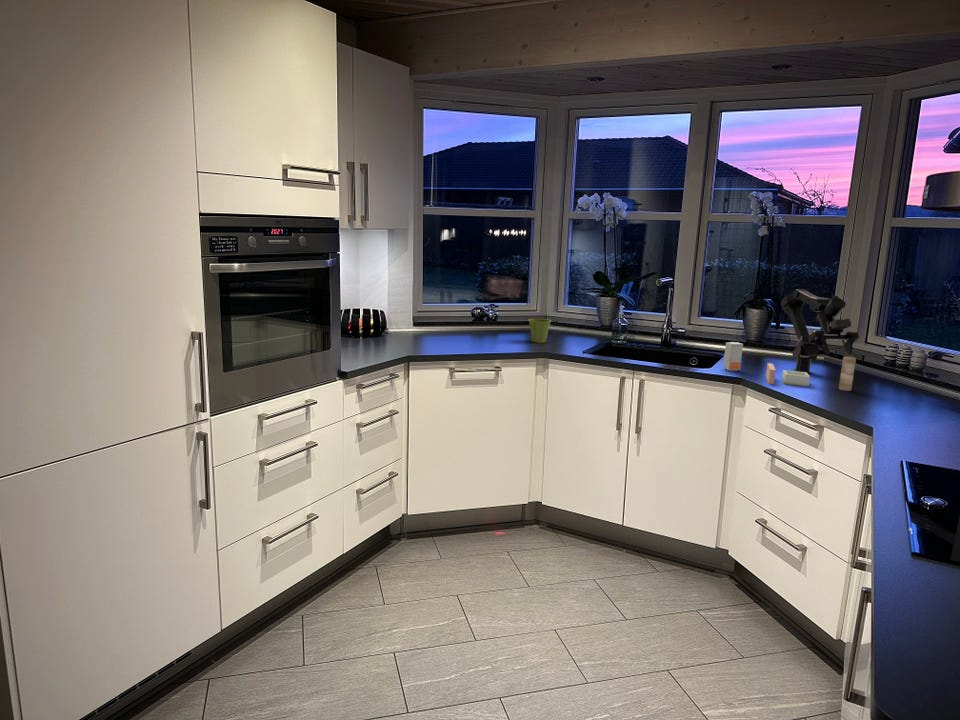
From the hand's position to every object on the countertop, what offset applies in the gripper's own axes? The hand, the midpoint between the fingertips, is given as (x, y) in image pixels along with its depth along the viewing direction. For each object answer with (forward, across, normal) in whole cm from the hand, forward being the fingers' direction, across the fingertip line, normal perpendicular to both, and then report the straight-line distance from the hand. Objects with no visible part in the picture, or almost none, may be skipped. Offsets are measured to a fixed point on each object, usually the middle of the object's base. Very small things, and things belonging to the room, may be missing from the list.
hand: (839, 354), depth 272 cm
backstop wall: (+5, -25, +13) cm, 28 cm away
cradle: (+8, -16, +10) cm, 20 cm away
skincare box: (-9, -32, +28) cm, 43 cm away
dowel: (+14, 0, +4) cm, 15 cm away
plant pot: (-49, -110, +67) cm, 138 cm away
